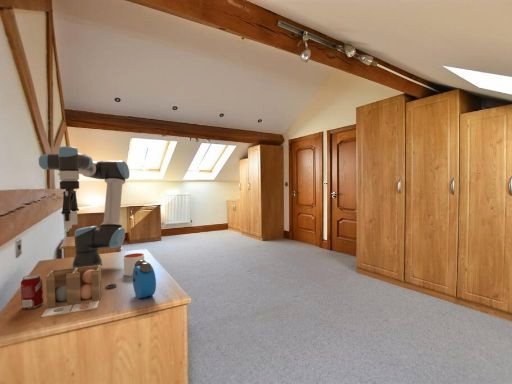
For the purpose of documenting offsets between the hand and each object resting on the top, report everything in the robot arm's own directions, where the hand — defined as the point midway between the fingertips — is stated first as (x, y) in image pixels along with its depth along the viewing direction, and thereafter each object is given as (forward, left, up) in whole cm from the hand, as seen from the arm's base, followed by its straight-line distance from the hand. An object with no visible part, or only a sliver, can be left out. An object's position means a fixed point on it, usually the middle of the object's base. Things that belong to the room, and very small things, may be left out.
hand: (71, 226), depth 133 cm
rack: (+18, +4, -29) cm, 34 cm away
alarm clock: (+26, +30, -29) cm, 49 cm away
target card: (+27, +4, -29) cm, 40 cm away
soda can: (+17, -11, -29) cm, 35 cm away
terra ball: (+17, +9, -20) cm, 28 cm away
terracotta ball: (+20, +8, -25) cm, 33 cm away
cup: (-10, +26, -29) cm, 40 cm away
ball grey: (+18, 0, -25) cm, 31 cm away
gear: (+7, +16, -29) cm, 34 cm away
